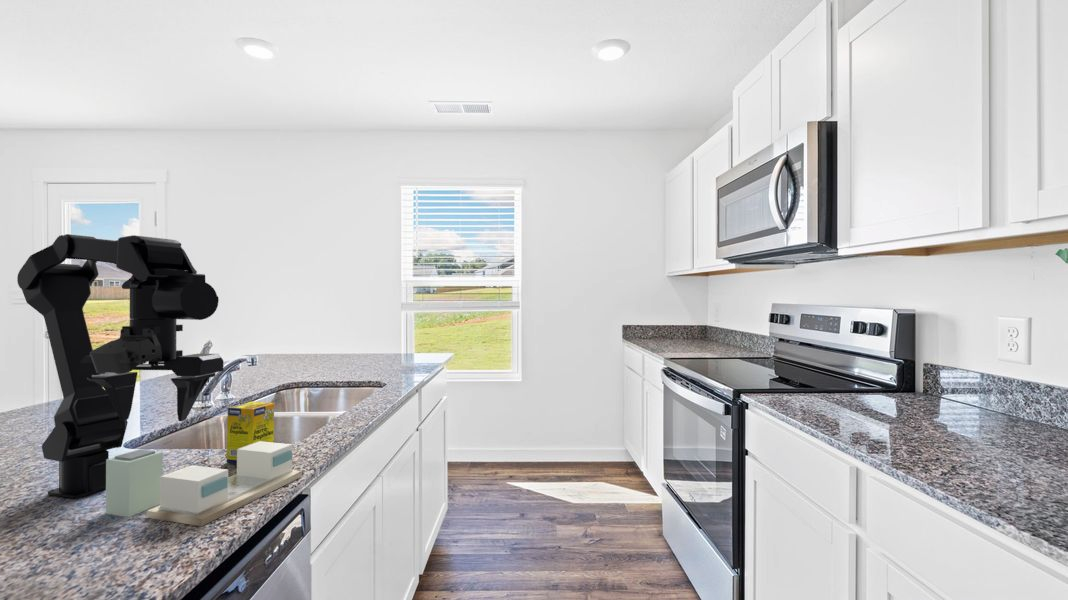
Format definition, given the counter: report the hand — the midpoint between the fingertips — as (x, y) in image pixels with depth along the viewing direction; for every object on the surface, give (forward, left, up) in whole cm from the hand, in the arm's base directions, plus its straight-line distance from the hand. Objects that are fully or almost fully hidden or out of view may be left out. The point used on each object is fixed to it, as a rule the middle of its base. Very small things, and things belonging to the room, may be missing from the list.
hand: (153, 420), depth 76 cm
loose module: (-2, -1, -13) cm, 13 cm away
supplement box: (-3, +22, -13) cm, 26 cm away
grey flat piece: (+8, +7, -13) cm, 17 cm away
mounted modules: (+8, +7, -12) cm, 16 cm away
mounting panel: (+8, +7, -13) cm, 17 cm away
